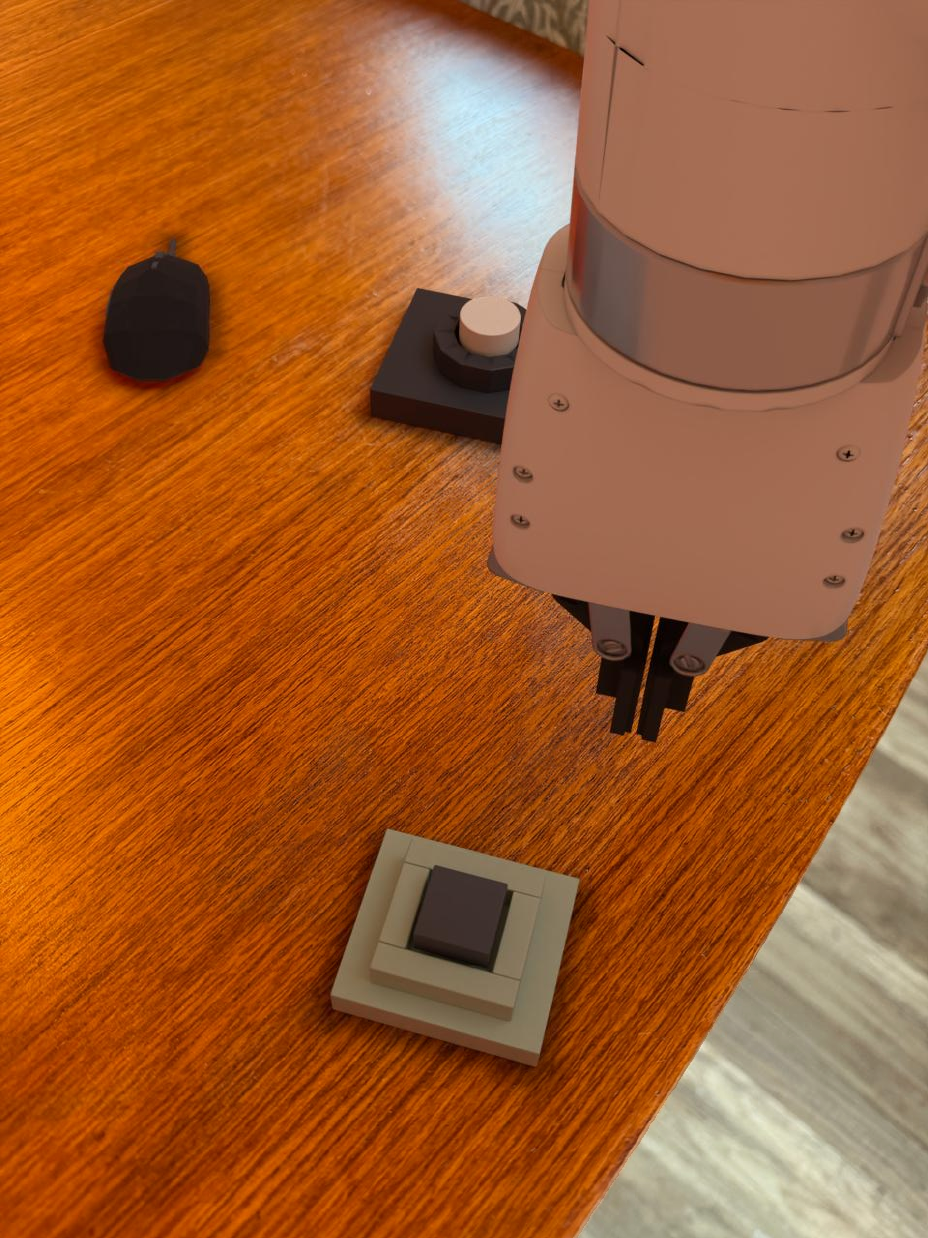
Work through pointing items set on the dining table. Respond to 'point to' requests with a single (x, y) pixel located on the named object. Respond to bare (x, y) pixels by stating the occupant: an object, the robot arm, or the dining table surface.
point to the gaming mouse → (158, 318)
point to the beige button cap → (489, 326)
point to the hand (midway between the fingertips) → (639, 702)
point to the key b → (460, 916)
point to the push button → (442, 373)
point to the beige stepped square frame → (447, 988)
